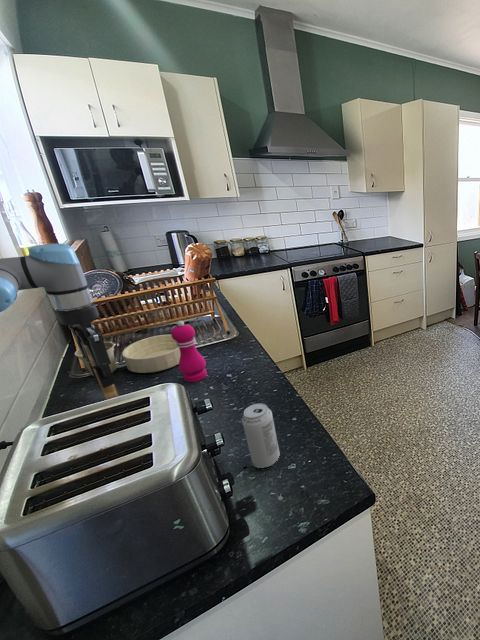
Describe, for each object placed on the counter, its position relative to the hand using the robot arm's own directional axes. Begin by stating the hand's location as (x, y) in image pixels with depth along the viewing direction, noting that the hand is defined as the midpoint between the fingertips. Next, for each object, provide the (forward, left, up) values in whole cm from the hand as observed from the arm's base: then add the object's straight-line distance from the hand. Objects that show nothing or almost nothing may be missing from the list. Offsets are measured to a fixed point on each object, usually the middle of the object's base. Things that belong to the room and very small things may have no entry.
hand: (106, 383), depth 97 cm
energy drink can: (+8, -56, -7) cm, 57 cm away
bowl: (+18, +13, -6) cm, 23 cm away
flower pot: (+5, +21, -7) cm, 22 cm away
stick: (0, 0, -6) cm, 6 cm away
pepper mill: (+19, -7, -7) cm, 22 cm away
